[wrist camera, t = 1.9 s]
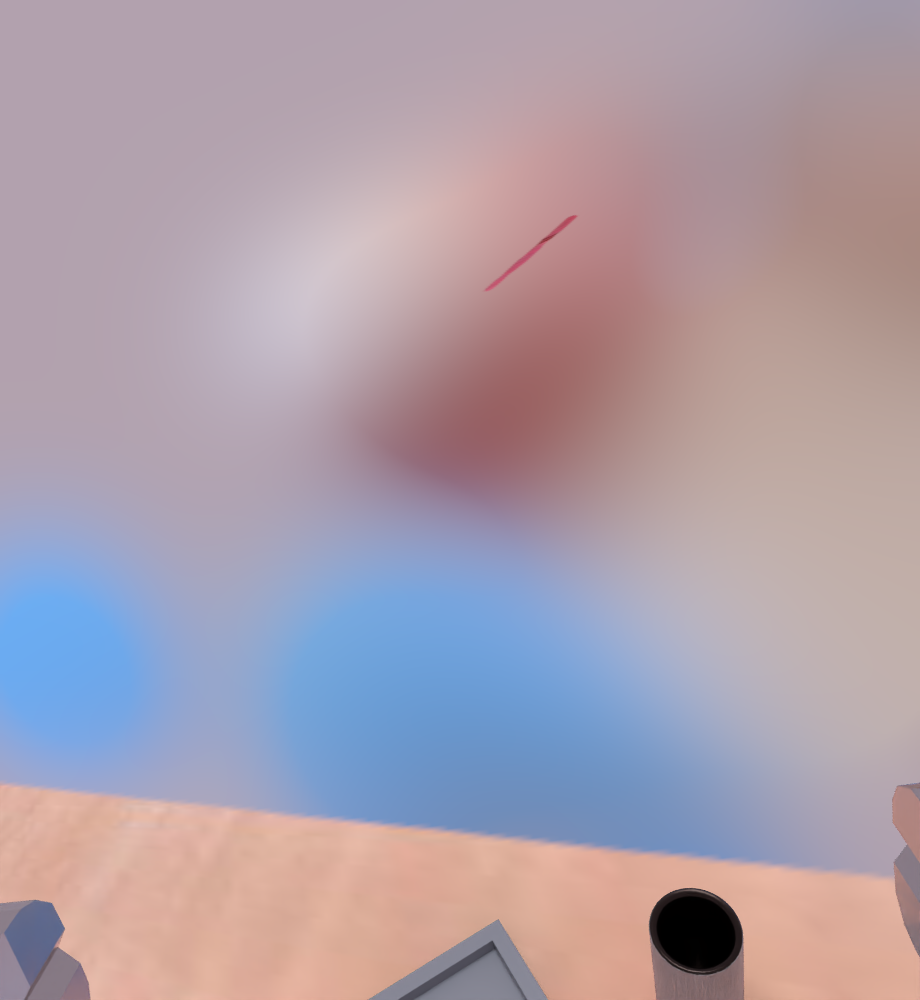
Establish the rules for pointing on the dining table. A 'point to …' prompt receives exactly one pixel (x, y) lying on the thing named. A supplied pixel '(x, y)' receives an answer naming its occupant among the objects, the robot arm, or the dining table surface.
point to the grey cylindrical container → (696, 947)
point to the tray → (471, 973)
